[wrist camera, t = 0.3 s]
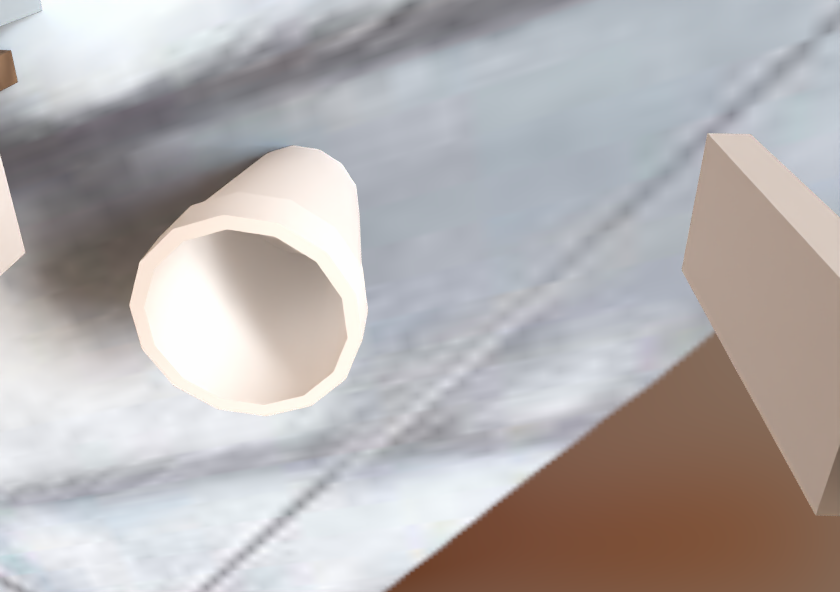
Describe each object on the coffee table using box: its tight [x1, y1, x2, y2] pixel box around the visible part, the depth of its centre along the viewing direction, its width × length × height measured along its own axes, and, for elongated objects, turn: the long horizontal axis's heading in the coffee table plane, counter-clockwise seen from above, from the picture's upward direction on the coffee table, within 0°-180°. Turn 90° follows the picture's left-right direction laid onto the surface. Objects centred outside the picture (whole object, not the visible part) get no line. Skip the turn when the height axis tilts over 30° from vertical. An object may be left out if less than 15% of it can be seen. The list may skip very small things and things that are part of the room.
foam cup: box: [129, 145, 368, 416], centre depth 38 cm, size 10×9×13 cm
